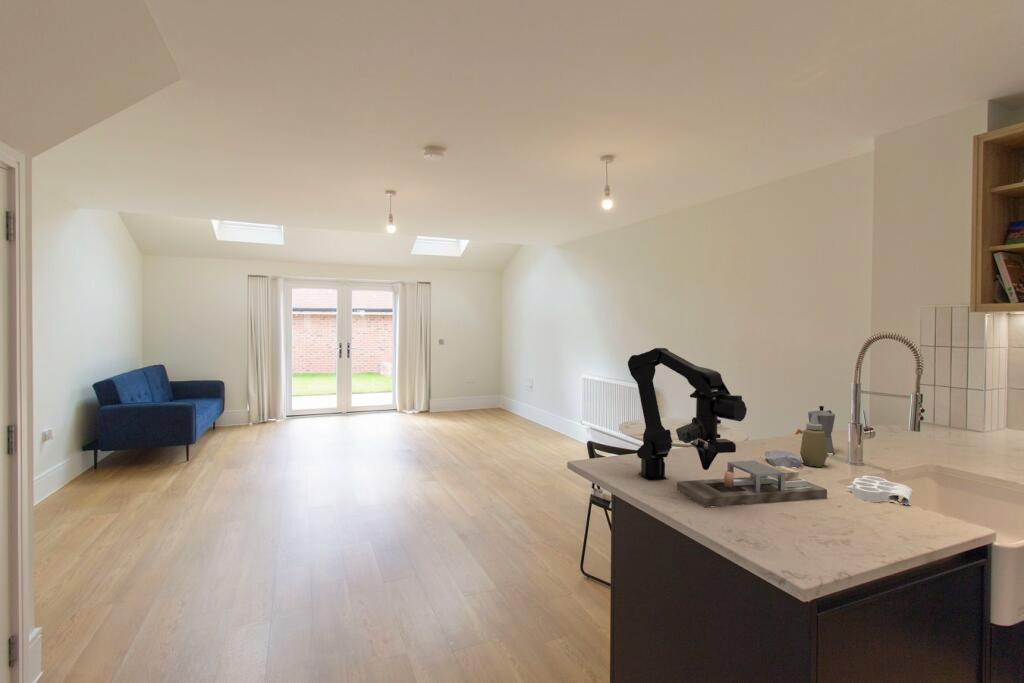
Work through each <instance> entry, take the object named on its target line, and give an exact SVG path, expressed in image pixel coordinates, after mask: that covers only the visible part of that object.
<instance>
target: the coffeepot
mask: <svg viewBox="0 0 1024 683" xmlns="http://www.w3.org/2000/svg"><path fill="white" fill-rule="evenodd" d="M824 408H825V406H823V405H819V410H813V411H808V413H807V417H808V421H809V422H808V423H810V421H811V418H812V414H817V418H818V423H819V424H821V425H822V431H824V432H825V436H826V446H827V453H834V454H835V452H834V446H833V445H834V444H833V438H832V432H833V429H834V424H835V419H836V414H835V413H833V412H832V411H831V410H825V409H824Z"/></svg>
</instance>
